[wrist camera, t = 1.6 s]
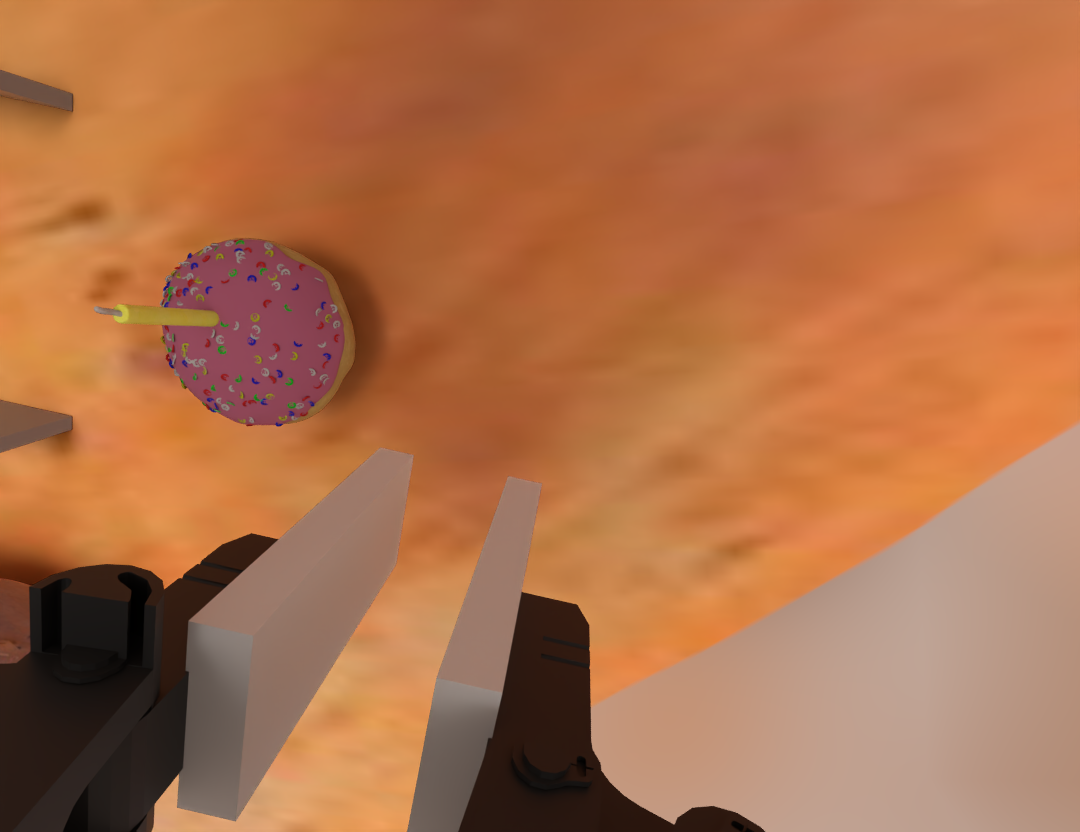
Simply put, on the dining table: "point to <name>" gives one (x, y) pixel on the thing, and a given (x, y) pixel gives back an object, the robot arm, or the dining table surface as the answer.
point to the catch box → (5, 420)
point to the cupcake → (253, 331)
